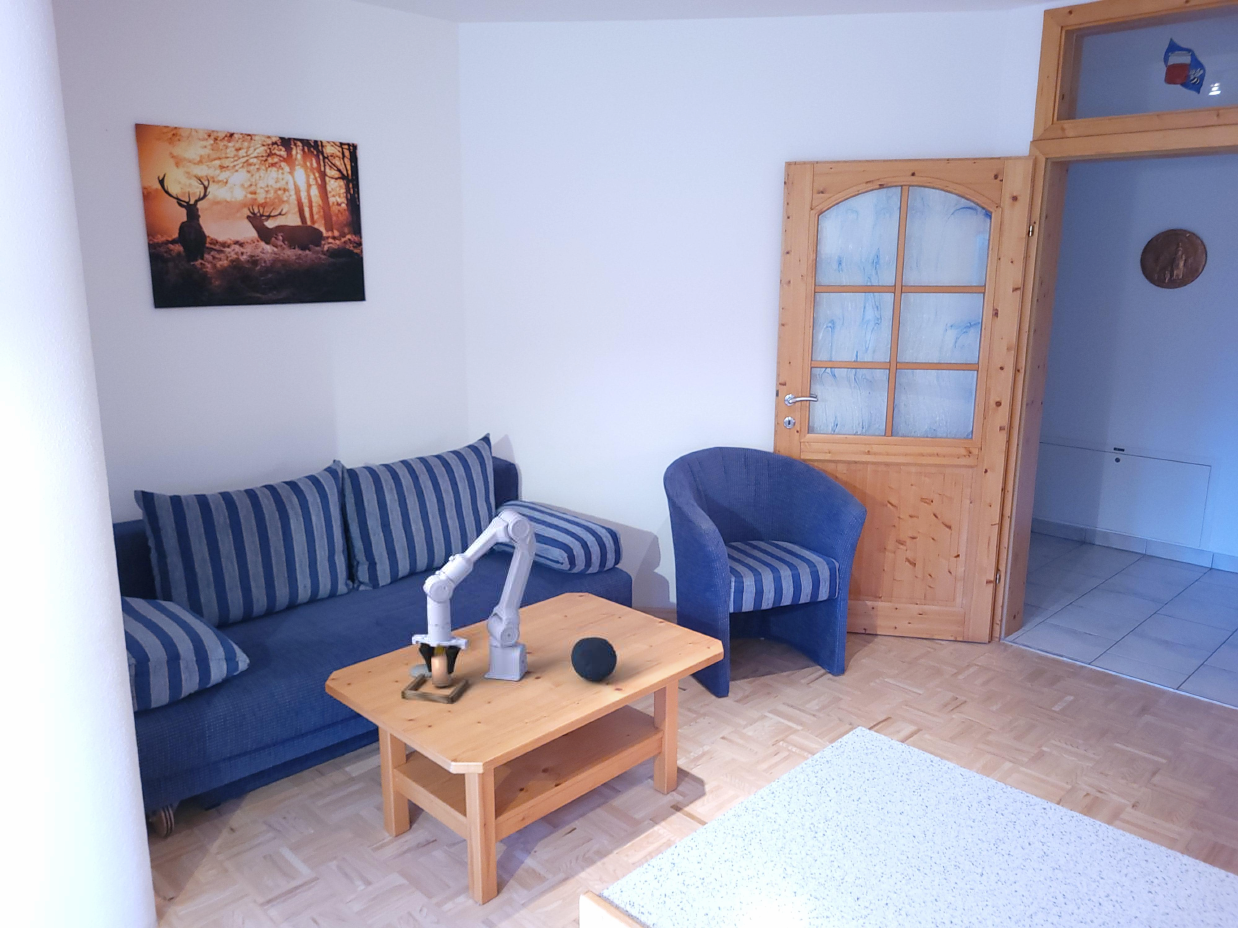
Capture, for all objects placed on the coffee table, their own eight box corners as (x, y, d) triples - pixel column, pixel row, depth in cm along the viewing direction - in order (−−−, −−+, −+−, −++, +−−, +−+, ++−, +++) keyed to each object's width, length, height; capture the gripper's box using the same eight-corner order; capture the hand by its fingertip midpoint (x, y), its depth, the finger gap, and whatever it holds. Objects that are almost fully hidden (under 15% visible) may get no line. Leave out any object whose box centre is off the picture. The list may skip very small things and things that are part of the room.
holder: (468, 685, 242) (468, 678, 242) (451, 703, 231) (451, 697, 231) (420, 679, 245) (420, 673, 245) (401, 698, 234) (401, 691, 234)
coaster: (444, 667, 253) (444, 665, 253) (432, 679, 245) (432, 677, 245) (417, 664, 255) (417, 662, 255) (404, 676, 247) (404, 674, 247)
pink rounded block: (440, 674, 246) (439, 649, 245) (457, 676, 245) (456, 651, 244) (428, 685, 240) (427, 659, 238) (446, 687, 238) (445, 661, 237)
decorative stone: (561, 679, 246) (561, 643, 244) (592, 665, 255) (592, 630, 253) (594, 691, 238) (594, 655, 236) (624, 677, 247) (625, 641, 245)
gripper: (406, 625, 236) (408, 675, 239) (459, 630, 233) (461, 680, 235) (418, 615, 243) (420, 664, 245) (470, 620, 239) (471, 669, 242)
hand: (441, 671), depth 241 cm, fingers closed on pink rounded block, 5 cm apart
